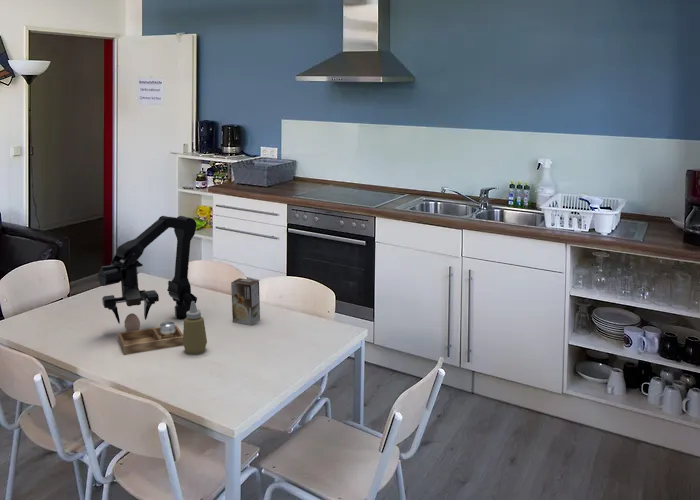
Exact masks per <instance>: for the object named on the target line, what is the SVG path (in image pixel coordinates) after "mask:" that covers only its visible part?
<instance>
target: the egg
mask: <svg viewBox="0 0 700 500" xmlns="http://www.w3.org/2000/svg"><path fill="white" fill-rule="evenodd" d="M140 326H141V321H140V319H139V317H138V315H137V314H135V313H133V312H132V313H129V314H127V316H126V317H125V320H124V328H125V330H126V332H129V331H136V330H140Z"/></svg>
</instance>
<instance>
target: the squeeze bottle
mask: <svg viewBox="0 0 700 500" xmlns="http://www.w3.org/2000/svg"><path fill="white" fill-rule="evenodd" d="M201 313H202V312H201V310H198V309H197V305H196V303H195V301H192V302H191V306H190V311H188V312H187V317H186V318H185V319H183V331H182V332H183V333H182V334H183V345H182V346H183V347H184V350H185V353H187V354H189V355H199V354H202V353H204V351H206V347H207V343H208V340H207V331H206V327H205V326H206V325H205V320H204V319H205V318H204V317H202V314H201Z"/></svg>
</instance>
